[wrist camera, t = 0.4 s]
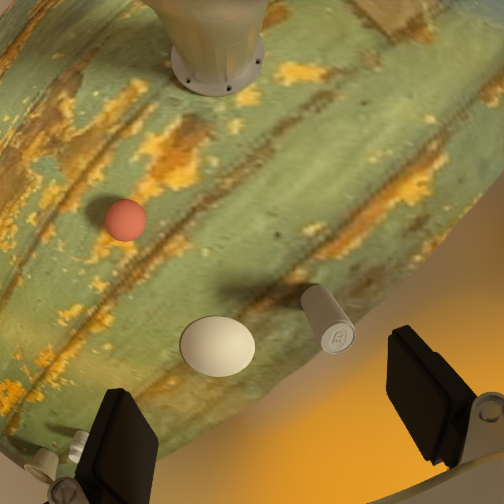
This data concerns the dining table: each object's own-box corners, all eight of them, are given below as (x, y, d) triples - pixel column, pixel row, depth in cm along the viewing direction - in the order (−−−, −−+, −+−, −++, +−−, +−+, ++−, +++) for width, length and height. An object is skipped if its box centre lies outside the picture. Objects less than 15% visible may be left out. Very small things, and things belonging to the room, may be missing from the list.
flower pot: (32, 449, 58) (22, 470, 49) (38, 438, 56) (26, 461, 48) (59, 467, 60) (51, 488, 52) (67, 457, 58) (58, 481, 50)
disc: (169, 326, 48) (169, 327, 47) (242, 307, 47) (242, 307, 47) (196, 382, 51) (196, 382, 51) (262, 366, 51) (263, 366, 51)
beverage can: (296, 309, 48) (315, 354, 37) (303, 281, 47) (325, 320, 36) (325, 312, 49) (350, 355, 37) (333, 285, 48) (361, 323, 36)
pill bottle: (92, 443, 56) (83, 467, 49) (75, 435, 55) (65, 459, 48) (94, 435, 55) (85, 459, 48) (77, 426, 54) (67, 450, 47)
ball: (108, 204, 41) (93, 211, 36) (142, 191, 41) (130, 196, 36) (121, 240, 43) (108, 252, 38) (155, 228, 43) (145, 239, 38)
